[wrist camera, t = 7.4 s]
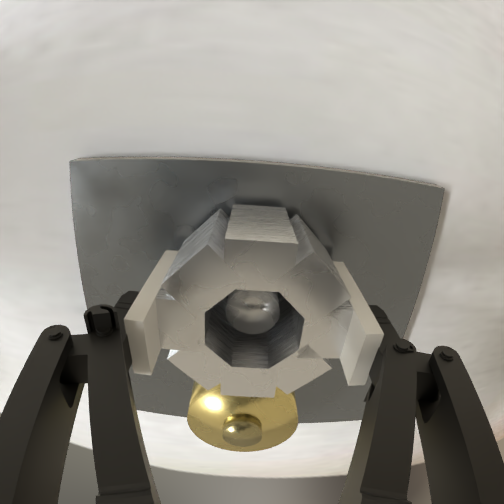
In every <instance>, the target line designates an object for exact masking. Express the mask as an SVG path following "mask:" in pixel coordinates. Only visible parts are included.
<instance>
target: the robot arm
mask: <svg viewBox="0 0 504 504" xmlns="http://www.w3.org/2000/svg"><path fill="white" fill-rule="evenodd" d="M178 252H179V251H173V250H166V251H165V252H164V254H163V255H162V257H161V259H160V260H159V262H158V263H157V265H156V266H155V268H154V270H153V271H152V273H151V274H150V276H149V278H148V279H147V281H146V283H145V284H144V286H143V288H142V289H141V291H140V292H138V291H128V292H126V293H125V294H123V295H122V296H121V297H120V298H119V300H118V301H117V303H116V304H115V306H114V307H113V306H111V305H107V304H100V305H95V306H92V307H90V308H89V309H87V310H86V311H85V313H84V319H85V323H86V327H87V331H88V334H82V335H71V334H70V331H69V329H68V328H67V327H66V326H63V325H53V326H50V327H48V328H46V329H45V330H44V331H43V332H42V333H41V335H40V336H39V338H38V340H37V342H36V344H35V346H34V348H33V349H32V351H31V353H30V355H29V357H28V359H27V361H26V363H25V365H24V367H23V369H22V371H21V373H20V375H19V377H18V379H17V381H16V383H15V385H14V387H13V390H12V392H11V394H10V396H9V398H8V401H7V403H6V405H5V407H4V410H3V412H2V414H1V417H0V504H58V497H59V491H60V484H61V480H62V474H63V469H64V464H65V459H66V455H67V450H68V446H69V441H70V437H71V433H72V429H73V425H74V421H75V417H76V413H77V409H78V405H79V402H80V398H81V395H82V391H83V388H84V384H85V383H88V395H89V413H90V426H91V437H92V446H93V455H94V462H95V470H96V476H97V482H98V488H99V494H98V495H97V496H96V504H161V502H160V499H159V495H158V492H157V489H156V486H155V483H154V479H153V476H152V472H151V468H150V465H149V461H148V457H147V453H146V450H145V446H144V442H143V437H142V433H141V429H140V424H139V420H138V415H137V411H136V406H135V401H134V396H133V390H132V385H131V379H130V374H129V369H130V367H131V364H132V366H133V371H134V373H138V374H144V375H152V372H153V369H154V366H155V364H156V361H157V358H158V355H159V352H160V350H161V346H160V338H159V329H158V319H157V309H156V297H157V295H158V293H159V291H160V289H161V286H160V285H161V283H162V281H163V279H164V277H165V276H166V274H167V272H168V270H169V268H170V266H171V264H172V263H173V261H174V259H175V257H176V255H177V253H178ZM333 263H334V265H335V267H336V269H337V270H338V272H339V274H340V276H341V278H342V280H343V282H344V284H345V286H346V288H347V290H348V292H349V294H350V295H351V298H350V299H348V300H349V302H350V304H351V306H352V308H353V310H354V311H353V314H352V318H351V322H350V326H349V329H348V333H347V336H346V340H345V343H344V347H343V350H342V353H341V357H340V361H341V364H342V367H343V370H344V374H345V377H346V380H347V383H348V386H355V385H365V383H366V381H367V379H368V376H370V379H371V381H372V383H371V385H370V388H369V390H368V392H367V394H366V397H365V399H364V401H363V402H366V405H365V409H364V414H363V418H362V422H361V427H360V431H359V435H358V439H357V443H356V446H355V450H354V454H353V457H352V461H351V465H350V468H349V471H348V475H347V478H346V482H345V485H344V488H343V491H342V494H341V497H340V500H339V503H338V504H412V502H410V501H408V500H407V490H408V484H409V477H410V470H411V462H412V453H413V443H414V431H415V416H416V420H417V425H418V429H419V434H420V439H421V443H422V448H423V454H424V459H425V464H426V470H427V476H428V481H429V487H430V495H431V501H432V504H504V463H503V460H502V457H501V454H500V451H499V448H498V445H497V442H496V440H495V437H494V434H493V431H492V429H491V426H490V424H489V421H488V419H487V416H486V414H485V411H484V409H483V406H482V404H481V402H480V399H479V397H478V395H477V392H476V390H475V388H474V386H473V383H472V381H471V379H470V377H469V375H468V372H467V370H466V368H465V366H464V364H463V362H462V360H461V358H460V356H459V354H458V353H457V352H456V351H455V350H453V349H452V348H450V347H446V346H438V347H436V348H435V349H434V351H433V353H432V355H431V354H426V353H420V352H416V348H415V346H414V345H413V344H412V343H411V342H409V341H407V340H405V339H401V338H400V337H399V335H398V333H397V332H396V330H395V328H394V327H393V325H392V324H391V322H390V320H389V319H388V317H387V315H386V313H385V312H384V311H383V310H382V309H381V308H380V307H378V306H377V305H368V304H367V302H366V300H365V299H364V297H363V295H362V293H361V292H360V290H359V288H358V286H357V285H356V283H355V281H354V279H353V278H352V276H351V274H350V273H349V271H348V269H347V268H346V266H345V264H344V262H338V261H333Z"/></svg>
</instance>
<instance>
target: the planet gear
mask: <svg viewBox="0 0 504 504" xmlns="http://www.w3.org/2000/svg"><path fill="white" fill-rule="evenodd" d="M160 286H161V289H160V291H159V293H158V295H157V297H156V309H157V319H158V329H159V338H160V346H161V348H162V349H170V352H169V355H168V358H167V359H168V360H169V361H170V362H171V363H173V364H174V365H175V366H176V367H178V368H179V369H180V370H181V371H183V372H184V373H185V374H187V375H188V376H189V377H191V378H192V379H193V380H195V381H196V382H197V383H199V384H200V385H201V386H203V387H204V388H205V389H207V390H210V389H211V388H213V387H215V386H217V385H218V384H220V383H221V395H229V396H245V397H268V398H274V396H275V390H276V386H277V387H278V388H279V389H281V390H282V391H283V392H285V393H286V394H289V393H291V392H293V391H295V390H296V389H298V388H300V387H302V386H303V385H305V384H307V383H308V382H310V381H312V380H314V379H315V378H317V377H319V376H320V375H322V374H323V373H325V372H327V371H328V370H330V369H332V366H331V362H330V359H329V358H340V357H341V353H342V350H343V347H344V343H345V340H346V336H347V333H348V329H349V326H350V322H351V318H352V314H353V311H354V310H353V308H352V306H351V304H350V302H349V300H348V299H350V298H351V295H350V294H349V292H348V290H347V288H346V286H345V284H344V282H343V280H342V278H341V276H340V274H339V272H338V270H337V269H336V267H335V265H334V263H333V261H332V259H331V257H330V255H329V254H328V252H327V250H326V249H325V247H324V246H323V245H322V244H321V242H320V241H319V240H318V239H317V237H316V236H315V235H314V234H313V233H312V231H311V230H310V229H309V228H308V227H307V225H306V224H305V223H304V222H303V221H302V219H301V218H300V217H299V216H298V215H297V214H295V215H294V216H293V217H292V218H290V219H289V217H288V214H287V211H286V209H285V208H283V207H270V206H256V205H242V204H233V207H232V211H231V215H230V217H229V216H228V215H227V214H226V213H225V212H224V211H223V210H222V209H221V208H220V209H219V210H218V211H217V212H216V213H215V214H214V215H212V216H211V217H210V218H209V219H208V220H207V221H206V222H204V223H203V224H202V225H201V226H200V227H199V228H198V229H197V230H195V231H194V232H193V233H192V234H191V235H190V236H189V237H188V238H187V239H185V241H184V242H183V244H182V246H181V248H180V250H179V252H178V253H177V255H176V257H175V259H174V261H173V263H172V264H171V266H170V268H169V270H168V272H167V274H166V276H165V277H164V279H163V281H162V283H161V285H160ZM235 289H238V290H254V291H270V292H280V293H281V294H282V296H283V297H282V298H280V299H279V300H278V301H279V308H280V315H279V319H278V321H277V323H276V324H275V325H274V326H273V327H272V328H271V329H269V330H268V331H266V332H263V333H259V334H247V333H243V332H240V331H238V330H237V329H235V328H234V327H233V326H232V325H231V324H230V323H229V321H228V319H227V315H226V308H227V300H228V299H227V298H226V296H227V295H229V294H230V293H231V292H233V291H234V290H235Z"/></svg>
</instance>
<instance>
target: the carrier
mask: <svg viewBox="0 0 504 504" xmlns="http://www.w3.org/2000/svg"><path fill="white" fill-rule="evenodd" d="M70 183H71V199H72V211H73V221H74V230H75V239H76V247H77V254H78V261H79V267H80V273H81V279H82V285H83V290H84V295H85V301H86V305H87V309H89V308H90V307H92V306H95V305H100V304H107V305H111V306H113V307H114V306H115V304H116V303H117V301H118V300H119V298H120V297H121V296H122V295H123V294H125V293H126V292H128V291H138V292H140V291H141V289H142V288H143V286H144V284H145V283H146V281H147V279H148V278H149V276H150V274H151V273H152V271H153V270H154V268H155V266H156V265H157V263H158V262H159V260H160V259H161V257H162V255H163V254H164V252H165V251H166V250H173V251H179V250H180V248H181V246H182V244H183V242H184V241H185V239H187V238H188V237H189V236H190V235H191V234H192V233H193V232H194V231H195V230H197V229H198V228H199V227H200V226H201V225H202V224H203V223H204V222H206V221H207V220H208V219H209V218H210V217H211V216H212V215H214V214H215V213H216V212H217V211H218V210H219V209H220V208H221V209H222V210H223V211H224V212H225V213H226V214H227V215H228V216H229V217H230V215H231V211H232V207H233V204H242V205H256V206H270V207H283V208H285V209H286V211H287V214H288V217H289V219H290V218H292V217H293V216H294V215H295V214H297V215H298V216H299V217H300V218H301V219H302V221H303V222H304V223H305V224H306V225H307V227H308V228H309V229H310V230H311V231H312V233H313V234H314V235H315V236H316V237H317V239H318V240H319V241H320V242H321V244H322V245H323V246H324V247H325V249H326V250H327V252H328V254H329V255H330V257H331V259H332V261H338V262H344V264H345V266H346V268H347V269H348V271H349V273H350V274H351V276H352V278H353V279H354V281H355V283H356V285H357V286H358V288H359V290H360V292H361V293H362V295H363V297H364V299H365V300H366V302H367V304H368V305H377V306H378V307H380V308H381V309H382V310H383V311H384V312H385V313H386V315H387V317H388V319H389V320H390V322H391V324H392V325H393V327H394V328H395V330H396V332H397V333H398V335H399V337H400V338H401V339H402V338H403V336H404V333H405V331H406V328H407V325H408V322H409V320H410V317H411V314H412V311H413V308H414V305H415V302H416V299H417V296H418V293H419V290H420V286H421V283H422V280H423V277H424V273H425V270H426V266H427V263H428V259H429V255H430V252H431V248H432V244H433V240H434V236H435V232H436V227H437V223H438V219H439V214H440V209H441V204H442V199H443V194H444V188H442V187H440V186H437V185H435V184H430V183H425V182H420V181H414V180H409V179H403V178H397V177H391V176H385V175H379V174H372V173H366V172H359V171H351V170H344V169H336V168H328V167H319V166H310V165H301V164H291V163H280V162H268V161H254V160H239V159H221V158H197V157H100V158H79V159H75V160H72V161H70ZM282 297H283V296H282V294H281V293H280V292H270V291H254V290H238V289H235V290H234V291H233V292H231V293H230V294H229V295H227V296H226V298H227V299H228V300H227V308H226V315H227V319H228V321H229V323H230V324H231V325H232V326H233V327H234V328H235V329H237V330H238V331H240V332H243V333H247V334H259V333H263V332H266V331H268V330H269V329H271V328H272V327H273V326H274V325H275V324H276V323H277V321H278V319H279V315H280V308H279V301H278V300H279V299H280V298H282ZM169 352H170V349H162V348H161V350H160V352H159V355H158V358H157V361H156V364H155V366H154V369H153V372H152V375H144V374H138V373H134V371H133V366H132V364H131V367H130V369H129V374H130V379H131V385H132V390H133V396H134V401H135V406H136V410H141V411H147V412H153V413H160V414H166V415H174V416H181V417H187V421H188V425H189V427H190V429H191V430H192V432H193V433H194V434H195V435H196V436H197V437H198V438H200V439H201V440H203V441H204V442H206V443H208V444H210V445H212V446H215V447H218V448H221V449H225V450H230V451H239V452H249V451H259V450H264V449H268V448H271V447H274V446H277V445H279V444H281V443H282V442H284V441H286V440H287V439H288V438H289V437H291V435H292V434H293V433H294V432H295V430H296V428H297V426H298V423H318V422H338V421H353V420H362V418H363V414H364V409H365V405H366V402H363V401H364V399H365V397H366V394H367V392H368V390H369V388H370V385H371V383H372V381H371V379H370V376H368V379H367V381H366V383H365V385H355V386H348V383H347V380H346V377H345V374H344V370H343V367H342V364H341V361H340V358H329V359H330V362H331V366H332V369H330V370H328V371H327V372H325V373H323V374H322V375H320V376H319V377H317V378H315V379H314V380H312V381H310V382H308V383H307V384H305V385H303V386H302V387H300V388H298V389H296V390H295V391H293V392H291V393H289V394H286V393H285V392H283V391H282V390H281V389H279V388H278V387H277V386H276V390H275V396H274V398H268V397H245V396H229V395H221V383H220V384H218V385H217V386H215V387H213V388H211V389H210V390H207V389H205V388H204V387H203V386H201V385H200V384H199V383H197V382H196V381H195V380H193V379H192V378H191V377H189V376H188V375H187V374H185V373H184V372H183V371H181V370H180V369H179V368H178V367H176V366H175V365H174V364H173V363H171V362H170V361H169V360H168V359H167V358H168V355H169Z"/></svg>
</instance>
